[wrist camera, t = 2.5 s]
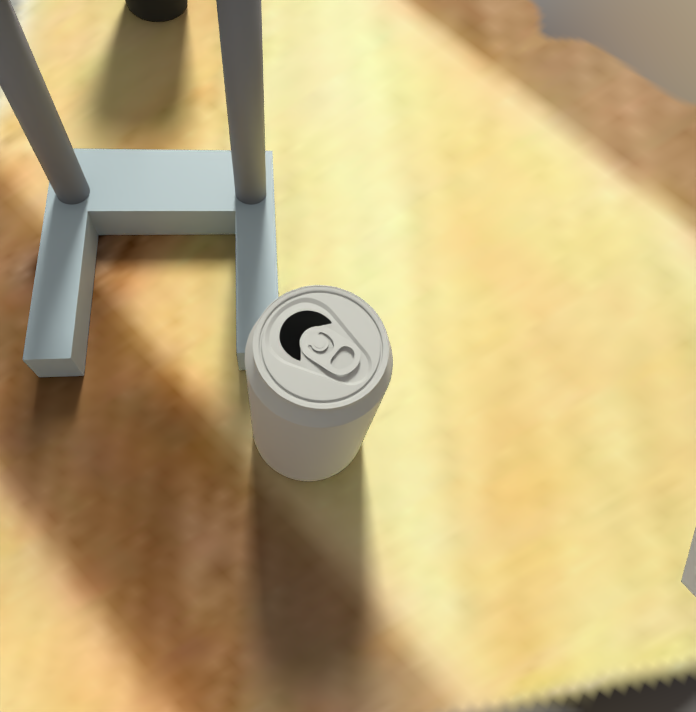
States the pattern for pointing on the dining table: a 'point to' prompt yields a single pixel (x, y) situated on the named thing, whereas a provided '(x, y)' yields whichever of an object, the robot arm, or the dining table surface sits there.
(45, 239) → the grey arch frame
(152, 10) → the drinking cup
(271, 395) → the beverage can
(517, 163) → the dining table surface
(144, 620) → the dining table surface
